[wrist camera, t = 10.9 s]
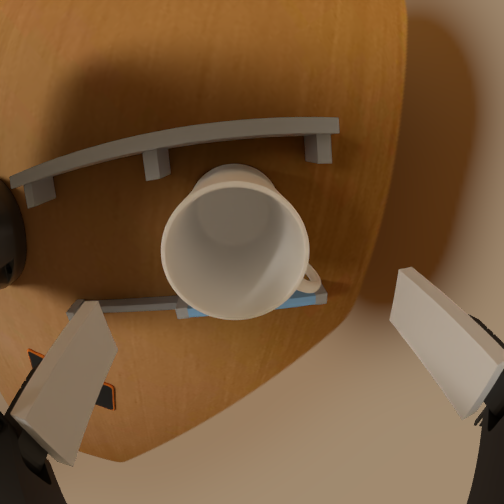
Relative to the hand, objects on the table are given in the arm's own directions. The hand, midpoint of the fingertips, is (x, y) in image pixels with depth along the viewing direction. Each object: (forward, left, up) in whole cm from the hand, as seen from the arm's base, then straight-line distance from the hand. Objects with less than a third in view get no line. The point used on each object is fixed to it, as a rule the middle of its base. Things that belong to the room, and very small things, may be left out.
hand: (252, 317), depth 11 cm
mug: (+1, 0, -16) cm, 16 cm away
